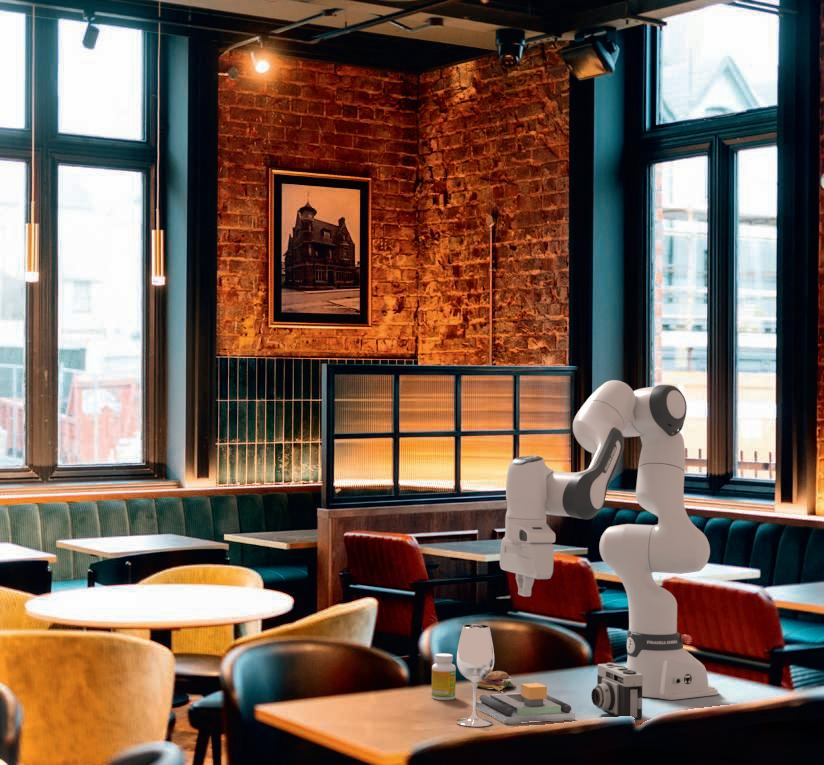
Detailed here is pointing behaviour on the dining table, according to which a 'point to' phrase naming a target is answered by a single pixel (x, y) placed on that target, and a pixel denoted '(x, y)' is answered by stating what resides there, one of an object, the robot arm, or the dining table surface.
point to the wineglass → (475, 664)
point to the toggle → (533, 694)
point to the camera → (618, 691)
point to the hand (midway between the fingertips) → (524, 595)
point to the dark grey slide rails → (509, 711)
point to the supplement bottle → (443, 677)
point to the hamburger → (496, 681)
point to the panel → (524, 710)
